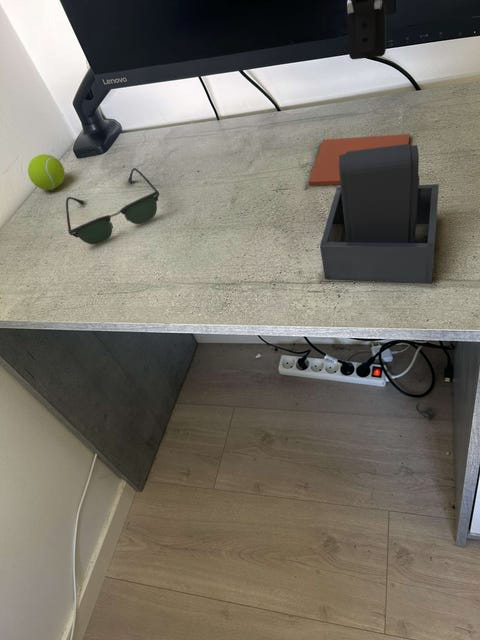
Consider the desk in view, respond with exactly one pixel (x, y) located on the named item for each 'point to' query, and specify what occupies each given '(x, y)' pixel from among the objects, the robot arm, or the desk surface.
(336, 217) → the grey open bin
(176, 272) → the desk surface
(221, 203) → the desk surface
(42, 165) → the tennis ball
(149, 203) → the sunglasses
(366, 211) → the card reader
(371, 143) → the mat
